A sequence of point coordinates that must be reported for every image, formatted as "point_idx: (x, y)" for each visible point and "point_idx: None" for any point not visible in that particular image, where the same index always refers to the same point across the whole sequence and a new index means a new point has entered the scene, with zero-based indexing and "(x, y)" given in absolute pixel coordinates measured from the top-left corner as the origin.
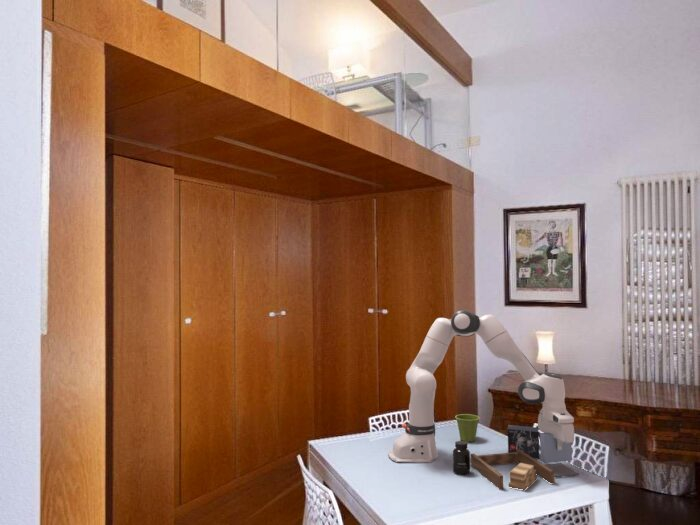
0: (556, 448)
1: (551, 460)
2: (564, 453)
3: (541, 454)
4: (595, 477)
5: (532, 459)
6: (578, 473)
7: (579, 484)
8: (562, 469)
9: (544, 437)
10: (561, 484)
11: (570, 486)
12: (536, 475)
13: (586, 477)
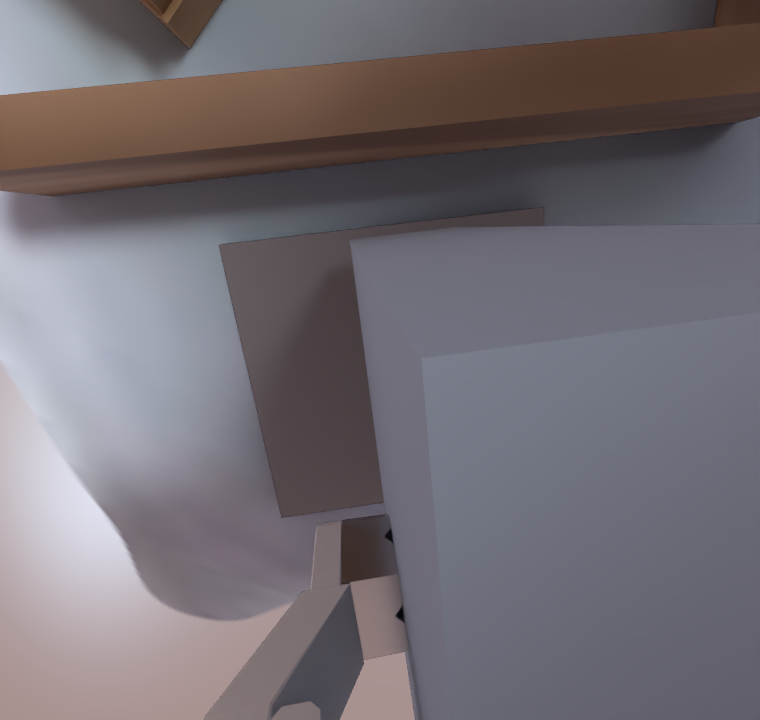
0: (367, 520)
1: (363, 344)
2: None
3: (457, 230)
4: (240, 595)
5: (452, 64)
6: (281, 514)
7: (75, 429)
8: None
9: (384, 338)
10: (56, 268)
11: (11, 331)
12: (159, 16)
13: (242, 540)
